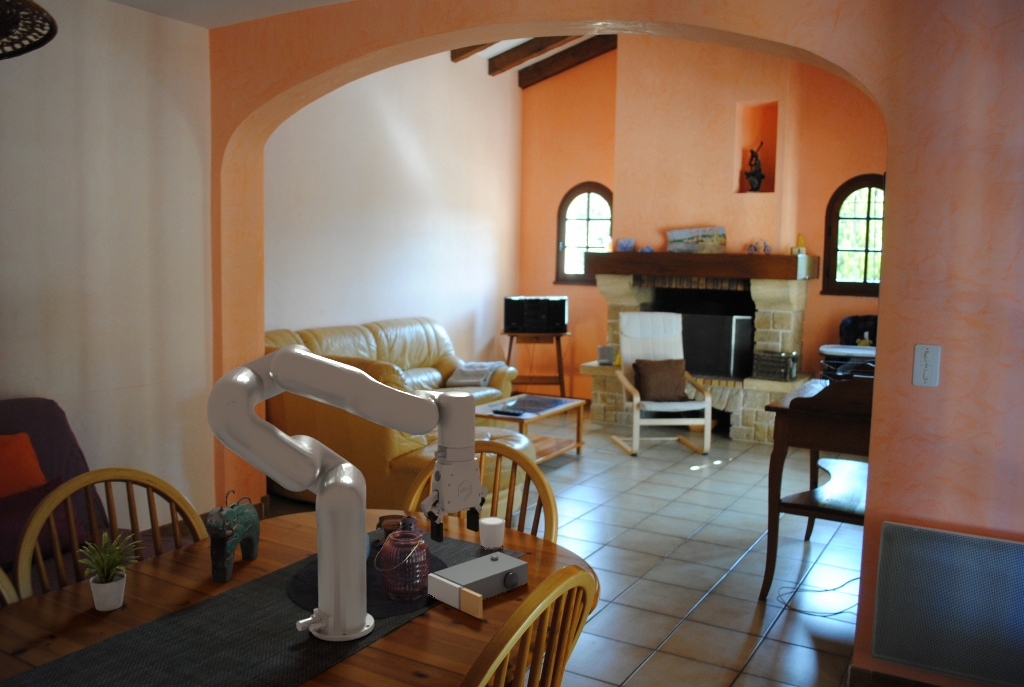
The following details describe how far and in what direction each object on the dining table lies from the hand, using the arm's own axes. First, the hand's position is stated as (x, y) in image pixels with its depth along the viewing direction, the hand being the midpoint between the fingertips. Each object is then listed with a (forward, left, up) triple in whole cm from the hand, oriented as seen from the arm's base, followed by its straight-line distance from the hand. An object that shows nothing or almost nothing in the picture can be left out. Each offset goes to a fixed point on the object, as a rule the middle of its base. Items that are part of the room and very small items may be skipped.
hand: (455, 535), depth 174 cm
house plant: (-49, +55, -19) cm, 76 cm away
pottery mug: (+21, +48, -19) cm, 56 cm away
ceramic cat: (-19, +58, -19) cm, 64 cm away
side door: (+5, +6, -18) cm, 19 cm away
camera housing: (+16, +9, -18) cm, 26 cm away
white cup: (+37, +28, -19) cm, 50 cm away
